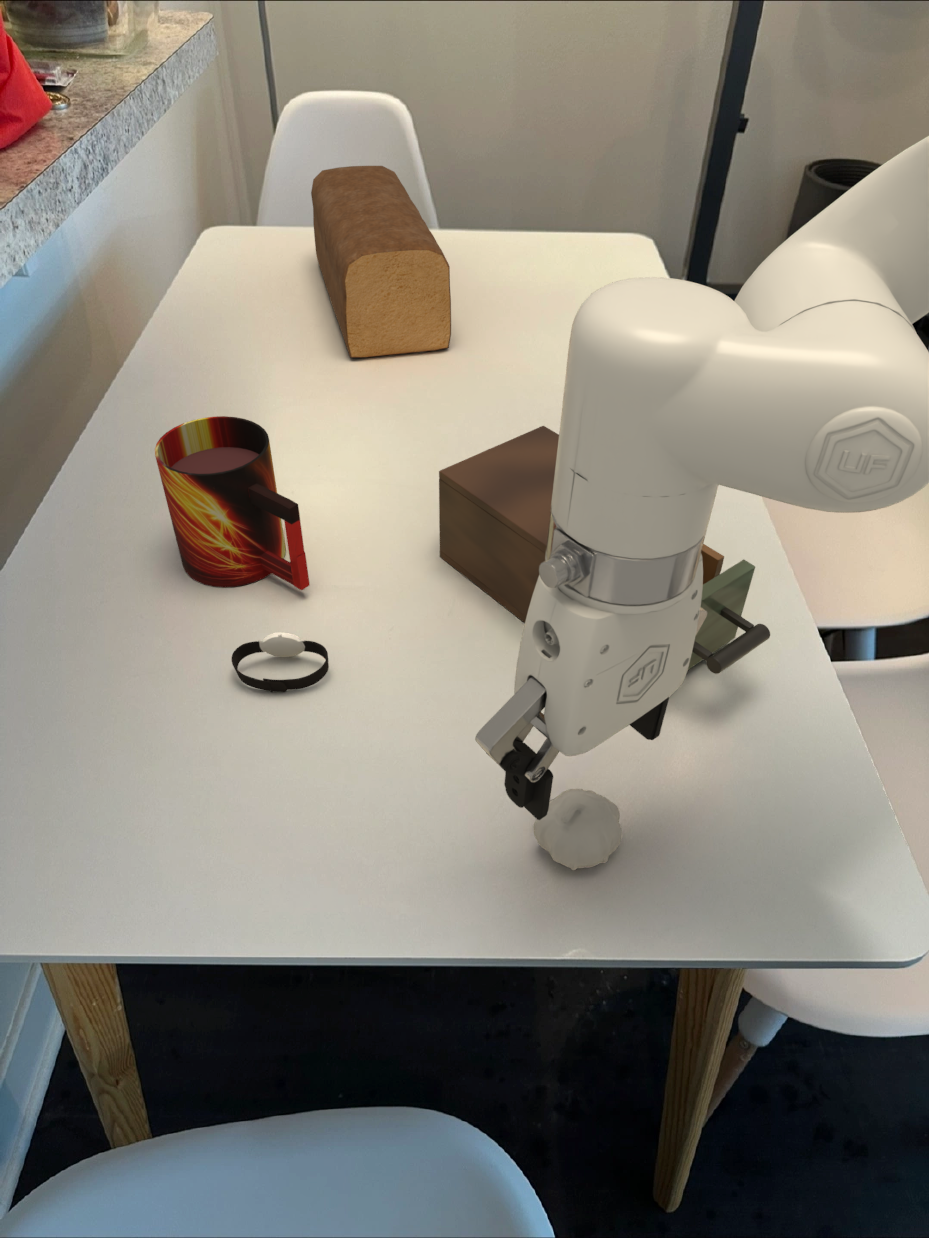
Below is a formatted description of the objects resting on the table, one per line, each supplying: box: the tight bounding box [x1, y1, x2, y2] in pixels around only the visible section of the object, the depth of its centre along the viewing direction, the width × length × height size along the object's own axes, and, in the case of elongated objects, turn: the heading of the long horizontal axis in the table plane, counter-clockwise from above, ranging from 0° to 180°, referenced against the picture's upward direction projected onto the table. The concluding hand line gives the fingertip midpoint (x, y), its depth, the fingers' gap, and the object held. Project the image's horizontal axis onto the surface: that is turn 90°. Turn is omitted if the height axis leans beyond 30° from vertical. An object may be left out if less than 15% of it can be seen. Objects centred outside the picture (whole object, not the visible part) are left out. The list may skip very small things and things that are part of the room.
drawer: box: [688, 543, 771, 675], centre depth 75 cm, size 18×11×8 cm, turn 39°
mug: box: [154, 415, 310, 591], centre depth 82 cm, size 10×14×12 cm
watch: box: [231, 631, 330, 693], centre depth 74 cm, size 8×5×4 cm, turn 92°
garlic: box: [532, 788, 623, 871], centre depth 61 cm, size 6×5×5 cm
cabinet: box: [438, 425, 559, 624], centre depth 82 cm, size 15×13×10 cm
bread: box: [310, 165, 452, 359], centre depth 125 cm, size 14×34×14 cm, turn 14°
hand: (583, 762), depth 57 cm, fingers open, 9 cm apart
